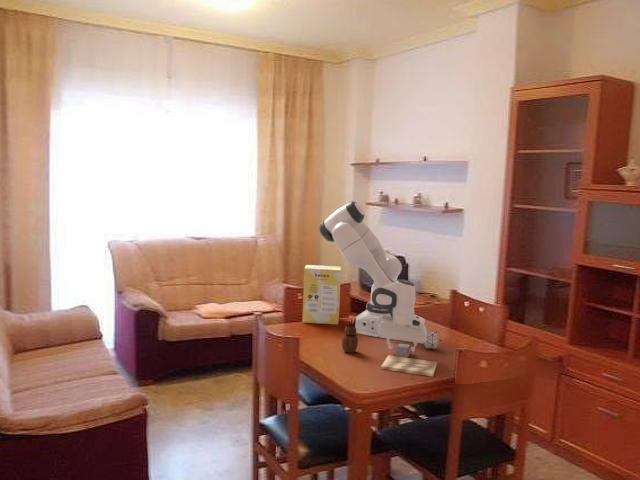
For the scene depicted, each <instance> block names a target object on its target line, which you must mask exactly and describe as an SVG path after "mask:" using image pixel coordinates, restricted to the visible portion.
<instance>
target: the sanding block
mask: <svg viewBox="0 0 640 480" xmlns="http://www.w3.org/2000/svg"><path fill="white" fill-rule="evenodd" d="M410 351H411V344H406V343H399V344H398V345H397V347H396V348H395V356H398V357H405V358H409V355H410V353H411V352H410Z"/></svg>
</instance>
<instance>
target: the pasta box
mask: <svg viewBox="0 0 640 480" xmlns="http://www.w3.org/2000/svg"><path fill="white" fill-rule="evenodd" d="M303 271H304V272H303V296H302V297H303V298H302V323H303V324H304V323H306V324H324V325H325V324H326V325H327V324H328V325H339V320H340V319H339V318H340V302H341V301H340V297H341V295H340V294H341V275H342V273H341V272H342V266H338V265H337V266H334V265H329V266H328V265H313V264H306V265H305V266H304V269H303Z"/></svg>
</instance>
